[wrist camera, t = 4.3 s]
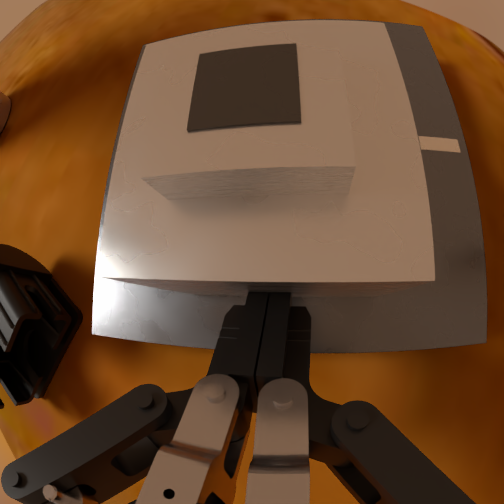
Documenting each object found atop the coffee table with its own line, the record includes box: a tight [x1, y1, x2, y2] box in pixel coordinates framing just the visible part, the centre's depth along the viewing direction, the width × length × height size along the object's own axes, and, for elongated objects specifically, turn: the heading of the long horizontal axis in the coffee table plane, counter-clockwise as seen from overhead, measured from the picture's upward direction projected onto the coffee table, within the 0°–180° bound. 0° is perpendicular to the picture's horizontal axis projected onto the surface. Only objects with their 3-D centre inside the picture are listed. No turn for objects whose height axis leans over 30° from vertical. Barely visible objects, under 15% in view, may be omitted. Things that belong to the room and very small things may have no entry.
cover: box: [98, 20, 435, 297], centre depth 11 cm, size 8×8×9 cm
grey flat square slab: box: [92, 19, 487, 353], centre depth 16 cm, size 20×20×2 cm
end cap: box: [0, 244, 83, 409], centre depth 17 cm, size 10×7×7 cm
